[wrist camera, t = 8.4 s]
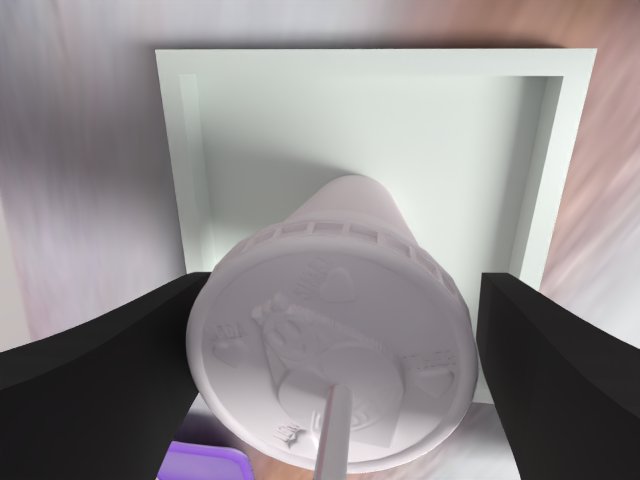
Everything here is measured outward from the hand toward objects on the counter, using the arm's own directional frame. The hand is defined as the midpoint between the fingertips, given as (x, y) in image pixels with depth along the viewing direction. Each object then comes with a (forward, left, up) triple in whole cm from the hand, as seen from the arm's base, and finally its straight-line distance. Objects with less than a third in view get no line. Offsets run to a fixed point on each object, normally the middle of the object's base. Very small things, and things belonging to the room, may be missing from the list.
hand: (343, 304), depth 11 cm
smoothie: (0, 0, -7) cm, 7 cm away
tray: (0, +1, -7) cm, 7 cm away
